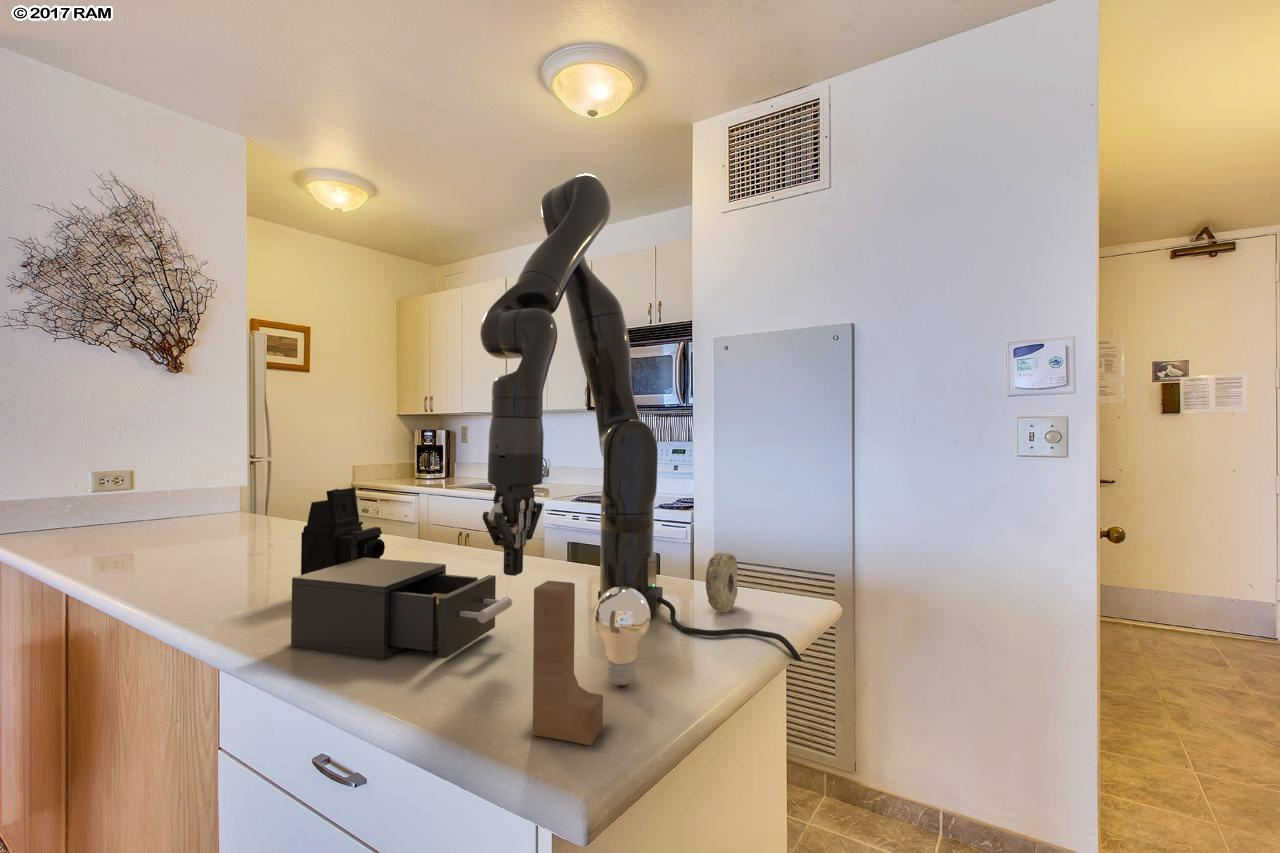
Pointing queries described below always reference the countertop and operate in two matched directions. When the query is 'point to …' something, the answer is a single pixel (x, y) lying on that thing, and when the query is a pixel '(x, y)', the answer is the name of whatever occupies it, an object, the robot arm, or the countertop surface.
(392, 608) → the pull-out drawer
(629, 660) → the light bulb
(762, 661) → the countertop surface
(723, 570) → the stone ring
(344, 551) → the camera
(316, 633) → the dark drawer cabinet
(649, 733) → the countertop surface
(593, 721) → the wooden block
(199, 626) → the countertop surface
